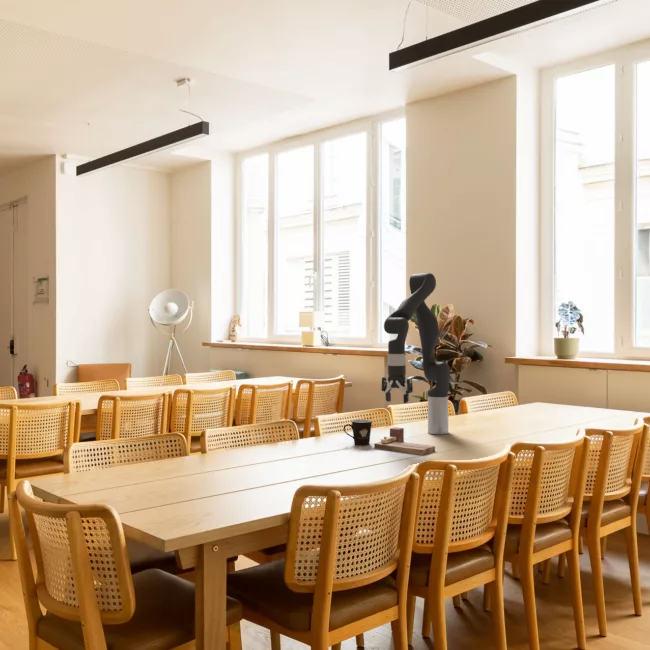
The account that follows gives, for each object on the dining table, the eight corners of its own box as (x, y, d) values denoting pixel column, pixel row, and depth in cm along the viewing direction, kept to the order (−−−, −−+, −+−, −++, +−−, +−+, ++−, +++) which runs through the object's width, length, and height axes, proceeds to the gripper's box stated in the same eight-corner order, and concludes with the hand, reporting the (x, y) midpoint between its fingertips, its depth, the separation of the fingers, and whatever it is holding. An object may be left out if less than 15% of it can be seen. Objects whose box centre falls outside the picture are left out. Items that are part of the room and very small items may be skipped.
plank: (387, 444, 305) (387, 440, 305) (434, 451, 291) (434, 446, 291) (374, 448, 297) (374, 443, 297) (422, 455, 283) (422, 449, 283)
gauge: (395, 443, 308) (394, 427, 308) (403, 444, 306) (403, 428, 305) (378, 448, 298) (378, 431, 298) (387, 449, 296) (387, 432, 296)
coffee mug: (373, 442, 310) (373, 419, 310) (369, 446, 302) (369, 422, 301) (347, 441, 313) (347, 418, 313) (343, 445, 305) (342, 421, 304)
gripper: (415, 364, 303) (416, 402, 304) (387, 363, 312) (387, 400, 313) (406, 365, 297) (406, 404, 298) (377, 364, 306) (378, 401, 307)
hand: (397, 402), depth 305 cm, fingers open, 8 cm apart
